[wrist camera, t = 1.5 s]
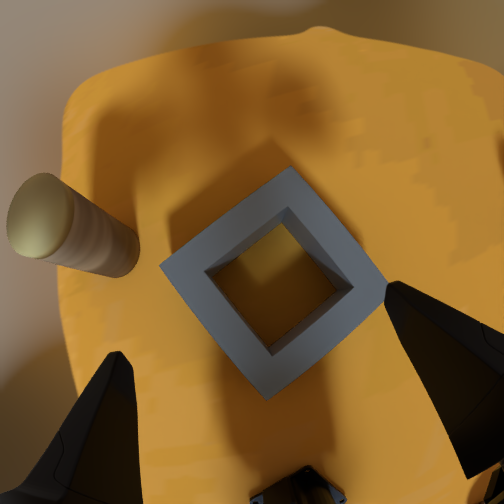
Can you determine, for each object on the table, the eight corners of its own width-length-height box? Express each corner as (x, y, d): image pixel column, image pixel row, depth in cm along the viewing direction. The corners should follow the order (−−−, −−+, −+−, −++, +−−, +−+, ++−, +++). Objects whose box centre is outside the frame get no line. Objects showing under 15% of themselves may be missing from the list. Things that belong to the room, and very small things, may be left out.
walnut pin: (150, 255, 23) (77, 216, 12) (110, 288, 22) (21, 273, 11) (123, 214, 23) (49, 157, 12) (86, 246, 23) (-1, 210, 12)
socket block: (371, 293, 22) (394, 290, 18) (263, 384, 21) (266, 401, 17) (284, 187, 24) (290, 165, 20) (173, 272, 22) (158, 265, 18)
